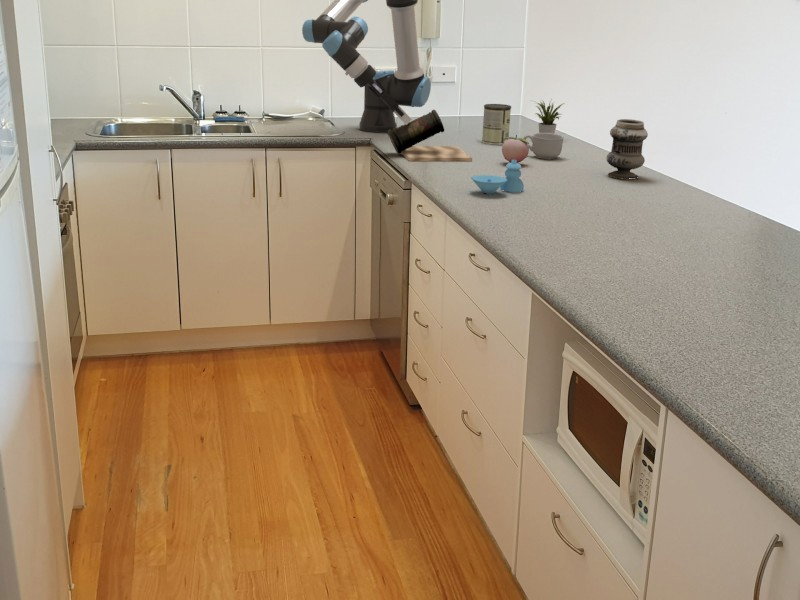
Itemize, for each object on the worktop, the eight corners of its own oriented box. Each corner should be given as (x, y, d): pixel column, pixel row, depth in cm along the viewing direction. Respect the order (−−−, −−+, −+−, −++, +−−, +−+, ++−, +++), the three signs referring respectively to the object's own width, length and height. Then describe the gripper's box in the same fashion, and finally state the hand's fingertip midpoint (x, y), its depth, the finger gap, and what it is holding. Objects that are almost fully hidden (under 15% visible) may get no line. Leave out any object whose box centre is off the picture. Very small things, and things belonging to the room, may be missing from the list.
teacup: (565, 157, 325) (567, 134, 322) (556, 161, 316) (558, 138, 313) (527, 152, 330) (529, 130, 328) (518, 157, 321) (520, 134, 318)
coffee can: (481, 139, 353) (484, 103, 349) (508, 141, 353) (511, 104, 348) (481, 144, 344) (483, 106, 339) (508, 145, 343) (511, 107, 338)
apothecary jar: (621, 181, 287) (628, 124, 281) (596, 174, 297) (603, 118, 291) (650, 179, 293) (657, 123, 287) (625, 172, 303) (632, 117, 297)
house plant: (520, 140, 356) (524, 97, 351) (529, 135, 368) (533, 94, 363) (556, 143, 351) (560, 101, 346) (564, 138, 363) (568, 97, 358)
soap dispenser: (487, 199, 257) (489, 167, 254) (462, 192, 265) (464, 161, 262) (532, 192, 268) (535, 162, 265) (507, 185, 275) (510, 156, 272)
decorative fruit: (497, 165, 305) (499, 135, 302) (503, 161, 313) (505, 132, 309) (524, 168, 302) (527, 138, 299) (530, 164, 310) (532, 134, 306)
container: (385, 130, 317) (432, 107, 318) (396, 153, 320) (442, 131, 320) (388, 131, 309) (436, 108, 309) (399, 155, 311) (447, 132, 311)
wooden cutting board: (408, 161, 306) (409, 157, 305) (397, 149, 326) (397, 146, 326) (472, 161, 310) (472, 157, 310) (456, 149, 330) (456, 146, 330)
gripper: (350, 78, 310) (397, 127, 318) (355, 81, 298) (404, 132, 306) (366, 62, 309) (413, 112, 317) (371, 64, 297) (420, 116, 305)
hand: (408, 122), depth 312 cm, fingers closed
